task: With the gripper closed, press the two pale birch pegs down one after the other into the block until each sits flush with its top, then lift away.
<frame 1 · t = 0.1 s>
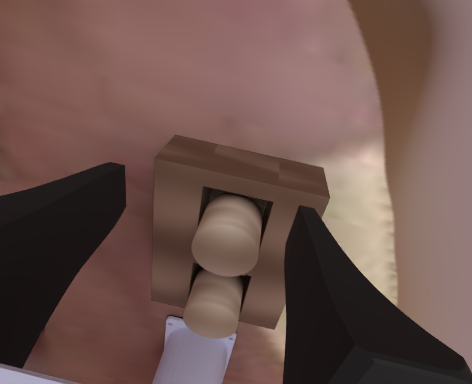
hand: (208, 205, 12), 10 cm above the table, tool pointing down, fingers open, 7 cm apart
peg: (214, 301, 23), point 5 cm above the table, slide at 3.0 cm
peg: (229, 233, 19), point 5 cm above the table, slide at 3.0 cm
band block: (232, 224, 25), on the table
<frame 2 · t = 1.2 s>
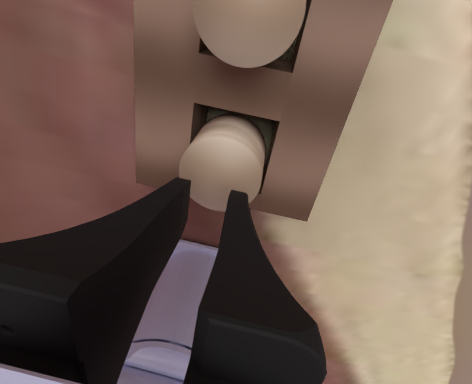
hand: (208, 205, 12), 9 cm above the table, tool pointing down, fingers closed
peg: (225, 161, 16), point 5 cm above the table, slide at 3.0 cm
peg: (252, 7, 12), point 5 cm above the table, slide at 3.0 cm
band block: (249, 73, 18), on the table
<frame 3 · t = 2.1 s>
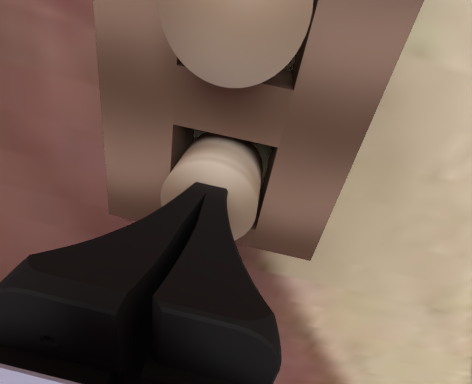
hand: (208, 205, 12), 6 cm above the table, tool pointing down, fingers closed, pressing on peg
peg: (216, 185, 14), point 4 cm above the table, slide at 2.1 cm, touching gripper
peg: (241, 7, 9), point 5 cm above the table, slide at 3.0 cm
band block: (242, 86, 15), on the table
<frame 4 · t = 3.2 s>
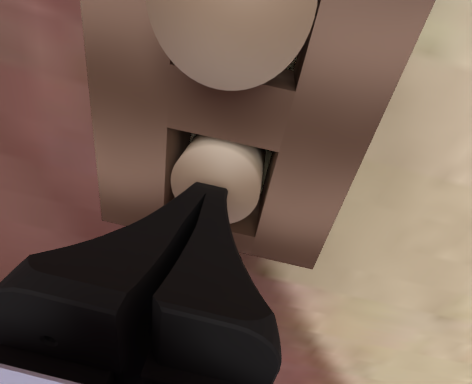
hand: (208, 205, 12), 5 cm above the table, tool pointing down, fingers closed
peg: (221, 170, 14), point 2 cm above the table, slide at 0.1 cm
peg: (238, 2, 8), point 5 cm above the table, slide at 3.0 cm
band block: (241, 86, 15), on the table
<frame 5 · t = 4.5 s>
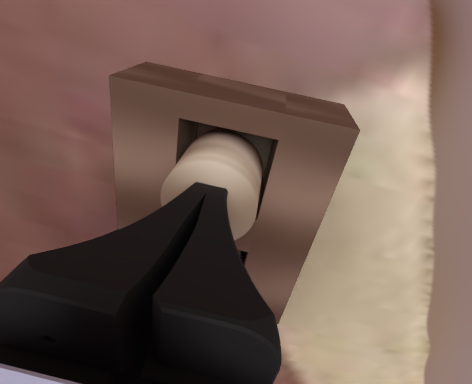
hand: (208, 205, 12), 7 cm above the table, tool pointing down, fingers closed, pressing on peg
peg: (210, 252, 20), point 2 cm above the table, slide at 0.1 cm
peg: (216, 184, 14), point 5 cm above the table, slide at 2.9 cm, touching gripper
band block: (224, 190, 20), on the table
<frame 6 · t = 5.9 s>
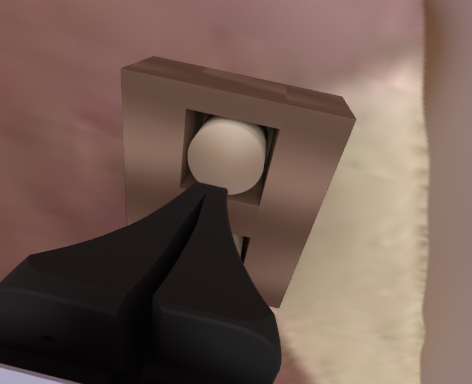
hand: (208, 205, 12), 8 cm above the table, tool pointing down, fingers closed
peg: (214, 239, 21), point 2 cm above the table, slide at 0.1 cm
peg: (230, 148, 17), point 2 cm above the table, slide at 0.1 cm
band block: (227, 180, 21), on the table
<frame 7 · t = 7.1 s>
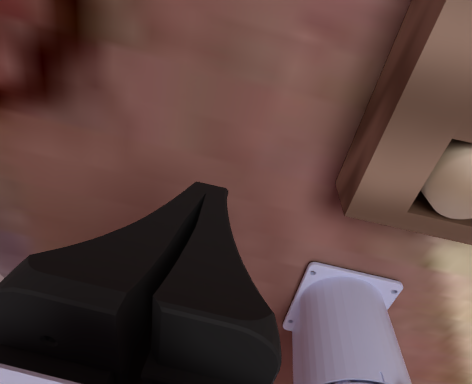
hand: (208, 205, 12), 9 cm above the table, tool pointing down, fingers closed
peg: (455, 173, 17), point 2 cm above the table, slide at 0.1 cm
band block: (470, 102, 17), on the table
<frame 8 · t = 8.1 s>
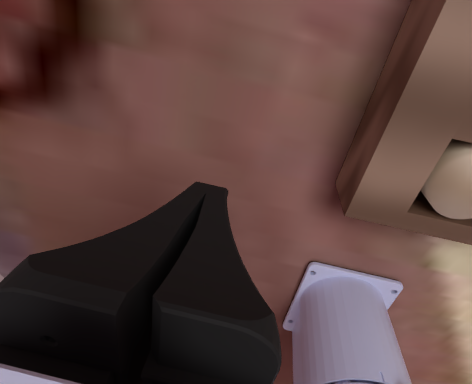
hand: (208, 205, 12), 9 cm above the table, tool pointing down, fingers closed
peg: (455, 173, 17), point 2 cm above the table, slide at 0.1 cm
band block: (470, 102, 17), on the table
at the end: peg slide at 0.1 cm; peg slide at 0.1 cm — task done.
